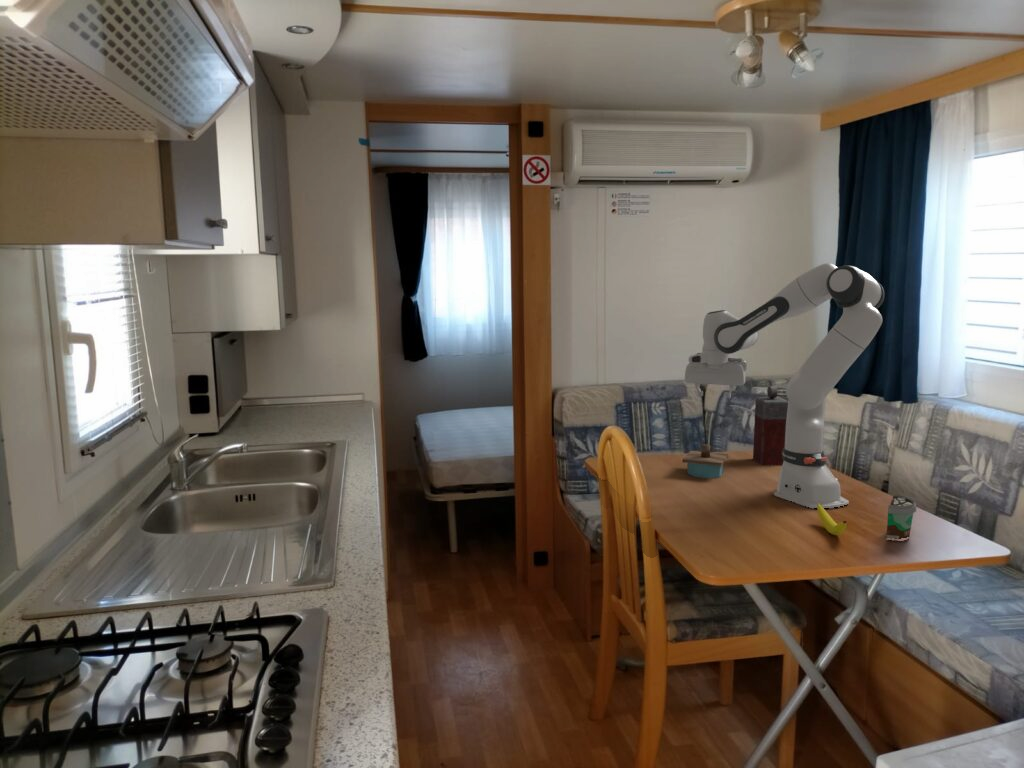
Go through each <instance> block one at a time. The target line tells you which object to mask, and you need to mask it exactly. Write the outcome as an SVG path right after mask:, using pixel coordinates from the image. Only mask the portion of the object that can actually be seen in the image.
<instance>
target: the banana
mask: <svg viewBox="0 0 1024 768" xmlns="http://www.w3.org/2000/svg"><path fill="white" fill-rule="evenodd" d="M817 515H818V517H819V520H820V522H821V524H822V526H823V528H825V530H826V531H827V532H828V533H829V534H830V533H831V535H833V536H836V535H837V536H839V535H840V536H841V535H842V534H844V532H845V530H846V528H847V521H846V520H844V521H842V522H839V523H836V521H834V519H833V518H832V516H830V514H829V513H828V512H827V511H826V509H824V508H823V507H822V506H821V505H820V504H819V503H818V505H817Z"/></svg>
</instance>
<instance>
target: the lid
mask: <svg viewBox="0 0 1024 768" xmlns="http://www.w3.org/2000/svg"><path fill="white" fill-rule="evenodd" d="M700 450H701V451H699V450H690V451H689V452H688V453H686V455H685V456H683V458H682V463H695V464H705V465H714V466H722V465H723V466H724V464H725V462H726V461H727V459H728V458H729V454H728V453H720V452H719V453H718V452H711V445H710V444H708V443H707V444H706V443H705V444H704V443H703V444H701V449H700Z"/></svg>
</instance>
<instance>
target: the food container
mask: <svg viewBox="0 0 1024 768" xmlns="http://www.w3.org/2000/svg"><path fill="white" fill-rule="evenodd" d="M916 512H917V504H916V501H915V500H914V499H913V498H912V497H908V496H906V495H902V494H899V493H892V500H891V502H890V504H888V509H887V521H886V522H887V524H886V536H885V538H891V539H892V538H894V539H901V538H907V537H909V538H910V534H911V529H912V522H913V517H914V513H916Z"/></svg>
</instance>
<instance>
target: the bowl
mask: <svg viewBox="0 0 1024 768" xmlns="http://www.w3.org/2000/svg"><path fill="white" fill-rule="evenodd" d="M686 470H687V471H686V474H688V475H690V476H692V477H695V478H701V477H702V479H714V477H717V478H720V477H721V476H722V475H723V472H724V464H723V465H722V466H714V465H705V464H695V463H687V467H686Z"/></svg>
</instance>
